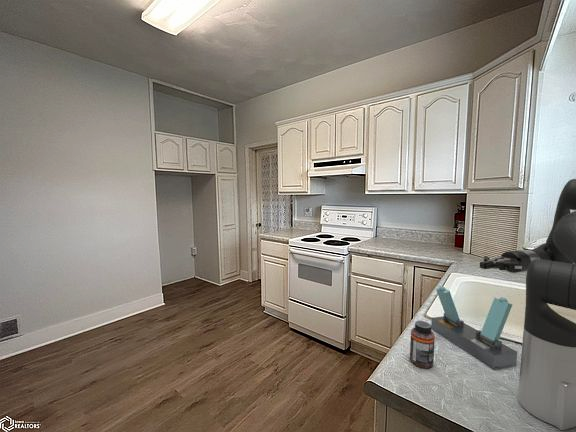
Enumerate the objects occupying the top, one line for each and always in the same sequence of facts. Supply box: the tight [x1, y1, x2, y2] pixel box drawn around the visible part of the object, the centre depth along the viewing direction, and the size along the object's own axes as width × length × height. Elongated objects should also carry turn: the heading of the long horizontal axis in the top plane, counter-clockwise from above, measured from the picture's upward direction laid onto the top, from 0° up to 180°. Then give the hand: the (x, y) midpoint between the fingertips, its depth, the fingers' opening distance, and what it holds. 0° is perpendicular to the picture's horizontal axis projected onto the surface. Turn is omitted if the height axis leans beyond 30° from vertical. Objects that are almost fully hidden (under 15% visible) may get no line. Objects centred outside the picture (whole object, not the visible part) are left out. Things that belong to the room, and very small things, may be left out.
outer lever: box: [435, 285, 461, 325], centre depth 86 cm, size 4×2×14 cm, turn 13°
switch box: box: [430, 312, 518, 370], centre depth 81 cm, size 22×8×6 cm, turn 13°
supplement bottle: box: [409, 320, 436, 369], centre depth 72 cm, size 6×6×11 cm
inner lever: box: [479, 296, 513, 346], centre depth 75 cm, size 4×2×14 cm, turn 13°
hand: (481, 265), depth 88 cm, fingers closed
